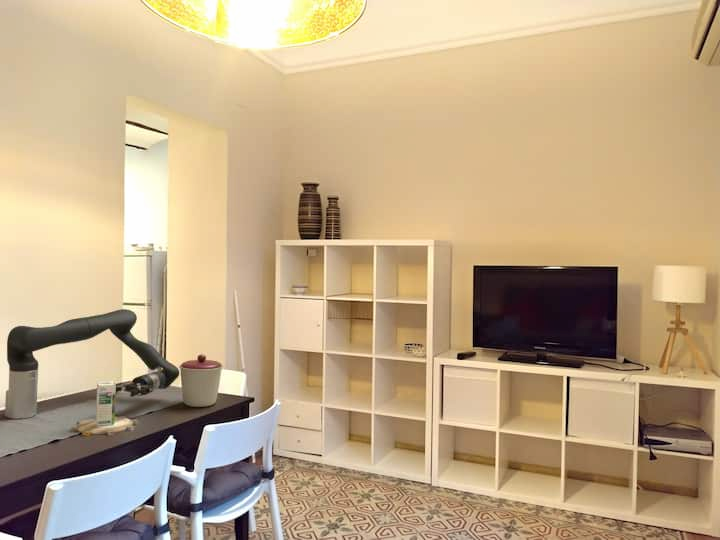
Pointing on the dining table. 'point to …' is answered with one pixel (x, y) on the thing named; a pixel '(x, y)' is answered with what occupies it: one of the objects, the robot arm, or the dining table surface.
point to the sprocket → (104, 426)
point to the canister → (200, 381)
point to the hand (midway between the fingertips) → (120, 392)
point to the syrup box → (105, 403)
